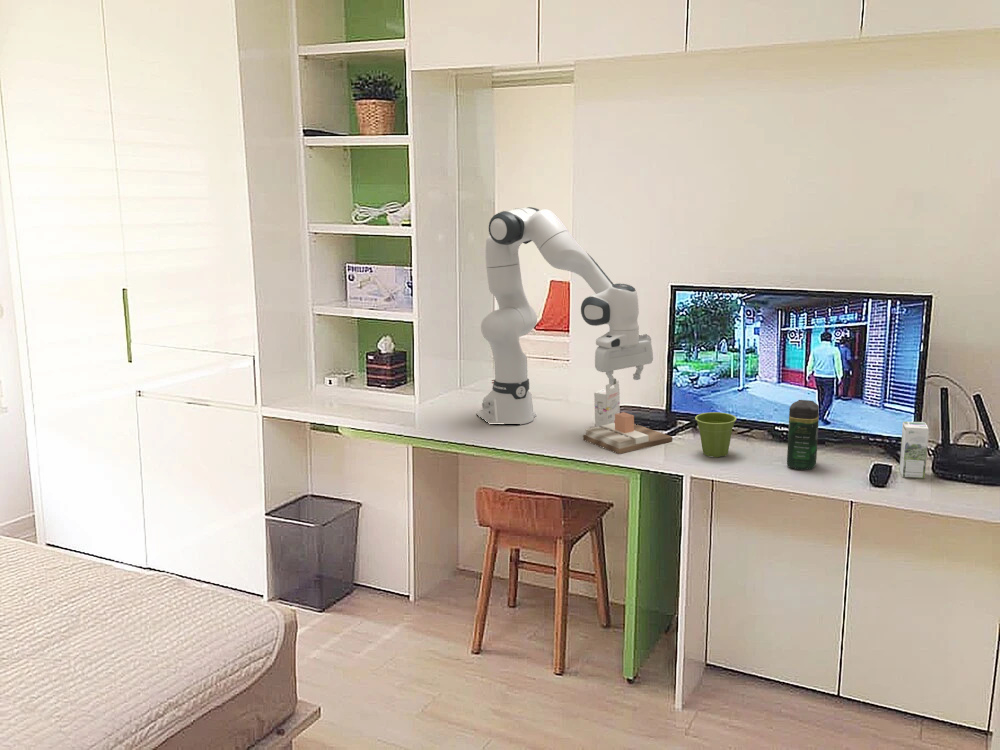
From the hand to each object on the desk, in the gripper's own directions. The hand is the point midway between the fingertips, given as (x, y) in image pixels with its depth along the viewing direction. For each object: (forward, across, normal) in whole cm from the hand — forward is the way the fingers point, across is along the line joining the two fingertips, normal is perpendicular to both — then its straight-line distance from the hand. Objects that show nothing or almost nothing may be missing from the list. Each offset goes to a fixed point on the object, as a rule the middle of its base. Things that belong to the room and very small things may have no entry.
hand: (624, 381), depth 288 cm
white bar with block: (+18, 0, 0) cm, 18 cm away
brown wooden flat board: (+19, -1, 0) cm, 19 cm away
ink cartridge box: (+19, -7, -18) cm, 27 cm away
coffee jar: (+20, -25, +48) cm, 57 cm away
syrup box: (+20, -42, +71) cm, 85 cm away
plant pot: (+20, -13, +26) cm, 35 cm away
